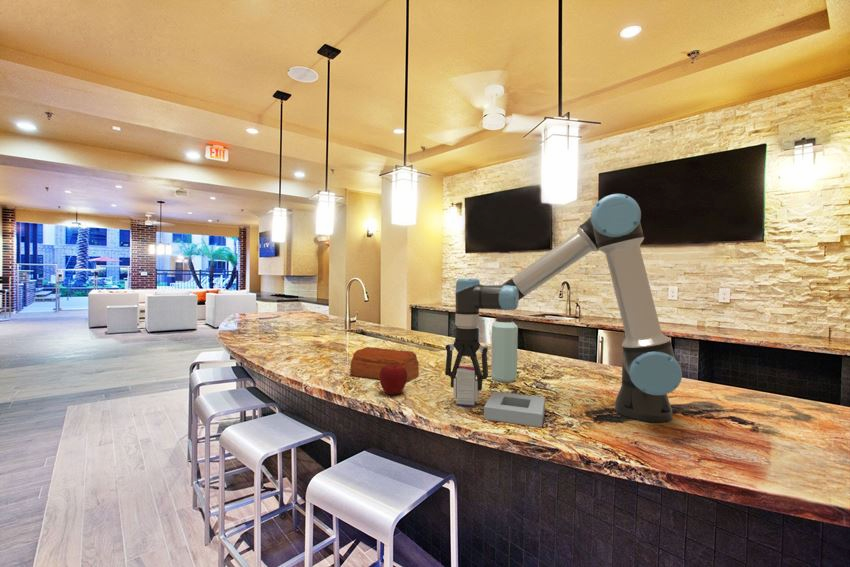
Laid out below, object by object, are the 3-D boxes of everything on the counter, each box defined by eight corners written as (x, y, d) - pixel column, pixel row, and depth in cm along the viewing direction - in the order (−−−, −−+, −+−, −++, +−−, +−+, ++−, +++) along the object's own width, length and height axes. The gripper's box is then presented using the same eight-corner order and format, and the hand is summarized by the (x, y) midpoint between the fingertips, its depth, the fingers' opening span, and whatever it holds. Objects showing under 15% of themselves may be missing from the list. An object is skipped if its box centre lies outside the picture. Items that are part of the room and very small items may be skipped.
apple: (400, 399, 127) (401, 368, 127) (374, 395, 131) (374, 366, 130) (410, 391, 136) (411, 362, 136) (386, 388, 139) (386, 360, 139)
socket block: (544, 408, 120) (545, 397, 120) (541, 427, 105) (542, 414, 105) (493, 402, 126) (493, 391, 125) (483, 419, 111) (483, 406, 110)
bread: (405, 384, 145) (405, 356, 145) (346, 376, 156) (346, 350, 155) (422, 375, 159) (422, 349, 159) (367, 368, 170) (367, 344, 170)
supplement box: (474, 407, 120) (474, 370, 120) (456, 405, 121) (455, 369, 121) (476, 401, 126) (476, 366, 126) (458, 400, 127) (458, 365, 127)
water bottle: (522, 380, 152) (523, 317, 151) (504, 384, 146) (505, 318, 146) (503, 375, 160) (504, 315, 160) (485, 378, 154) (486, 316, 154)
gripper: (499, 327, 123) (498, 398, 124) (441, 324, 130) (441, 392, 130) (495, 330, 116) (494, 406, 117) (434, 326, 123) (434, 398, 123)
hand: (466, 398), depth 124 cm, fingers closed on supplement box, 6 cm apart
